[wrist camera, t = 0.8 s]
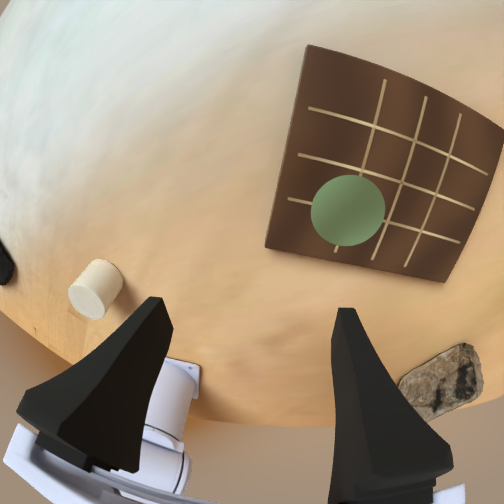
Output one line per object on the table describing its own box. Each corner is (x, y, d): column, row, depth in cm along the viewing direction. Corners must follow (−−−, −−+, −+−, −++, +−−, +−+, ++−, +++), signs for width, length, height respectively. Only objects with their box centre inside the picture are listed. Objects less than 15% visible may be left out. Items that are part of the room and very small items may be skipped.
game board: (265, 239, 22) (264, 248, 21) (305, 46, 14) (307, 43, 13) (440, 275, 22) (445, 284, 21) (498, 128, 15) (507, 131, 13)
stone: (381, 386, 31) (392, 435, 25) (462, 331, 25) (485, 380, 19) (405, 397, 33) (416, 439, 27) (476, 350, 27) (495, 392, 22)
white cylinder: (91, 287, 26) (73, 313, 23) (85, 254, 24) (63, 279, 21) (125, 296, 26) (108, 324, 23) (121, 263, 24) (100, 291, 21)
